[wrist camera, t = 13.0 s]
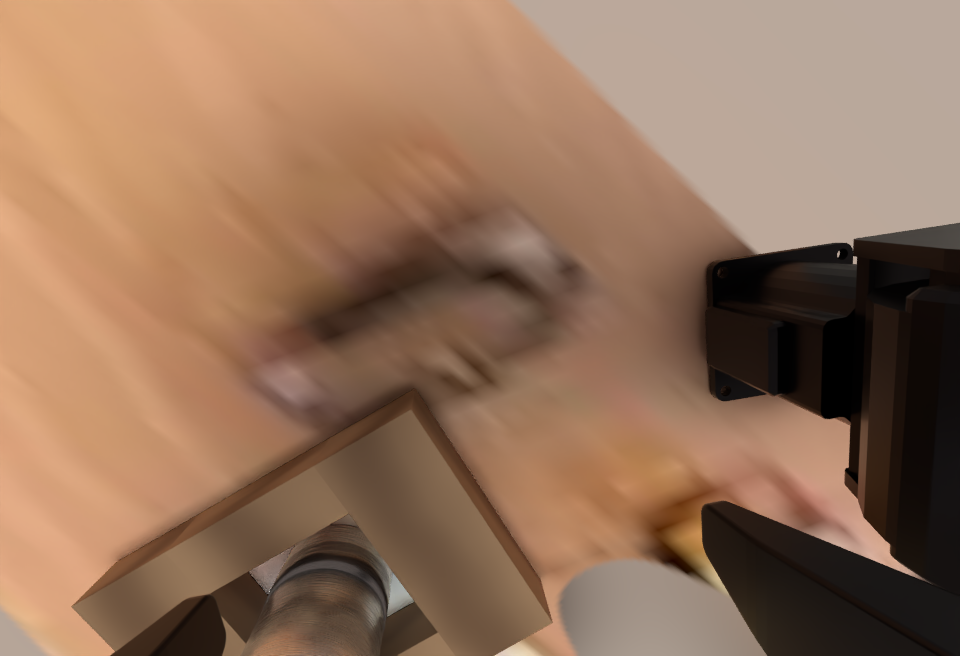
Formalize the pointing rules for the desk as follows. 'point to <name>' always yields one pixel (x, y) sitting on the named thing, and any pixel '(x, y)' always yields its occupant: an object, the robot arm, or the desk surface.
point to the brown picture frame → (382, 518)
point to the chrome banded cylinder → (326, 599)
